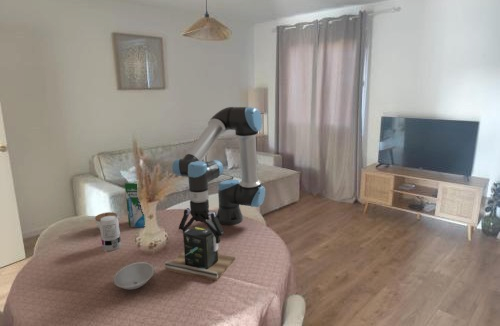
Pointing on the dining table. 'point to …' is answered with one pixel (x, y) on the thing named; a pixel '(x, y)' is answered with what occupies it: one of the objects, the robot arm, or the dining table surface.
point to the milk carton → (134, 206)
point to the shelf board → (210, 273)
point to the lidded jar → (102, 217)
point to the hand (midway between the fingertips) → (201, 247)
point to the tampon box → (199, 248)
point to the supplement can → (110, 233)
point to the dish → (133, 275)
